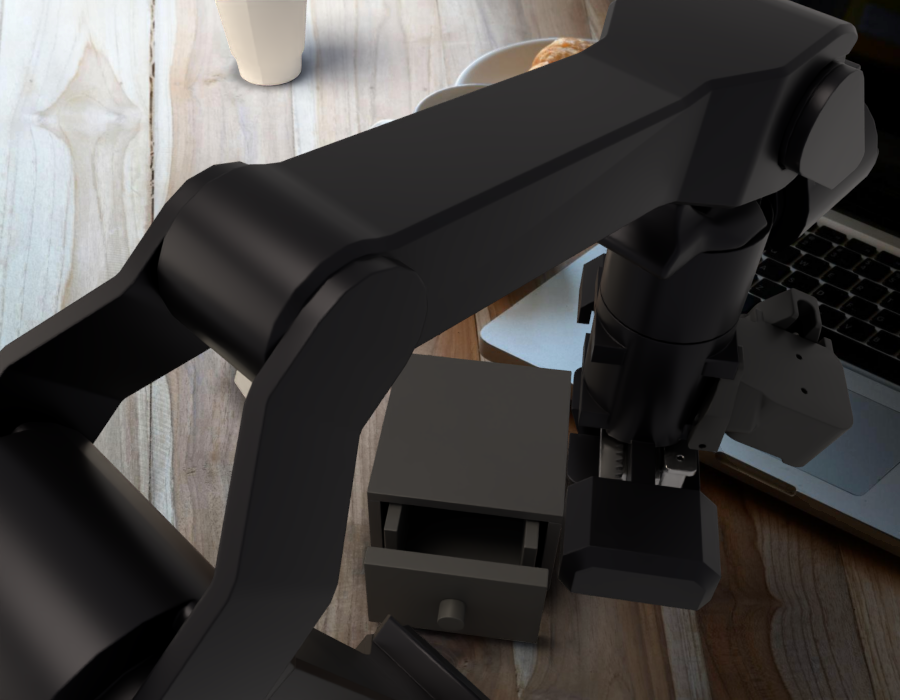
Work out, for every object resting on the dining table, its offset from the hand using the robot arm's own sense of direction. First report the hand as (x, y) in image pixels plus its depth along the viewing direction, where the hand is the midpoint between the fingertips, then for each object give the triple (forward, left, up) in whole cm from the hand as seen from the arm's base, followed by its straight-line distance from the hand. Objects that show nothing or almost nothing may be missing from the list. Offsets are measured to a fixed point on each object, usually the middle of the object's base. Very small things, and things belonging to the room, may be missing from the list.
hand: (611, 511), depth 49 cm
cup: (+63, +37, -13) cm, 74 cm away
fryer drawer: (+3, +8, -12) cm, 15 cm away
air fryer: (+8, +8, -13) cm, 17 cm away
